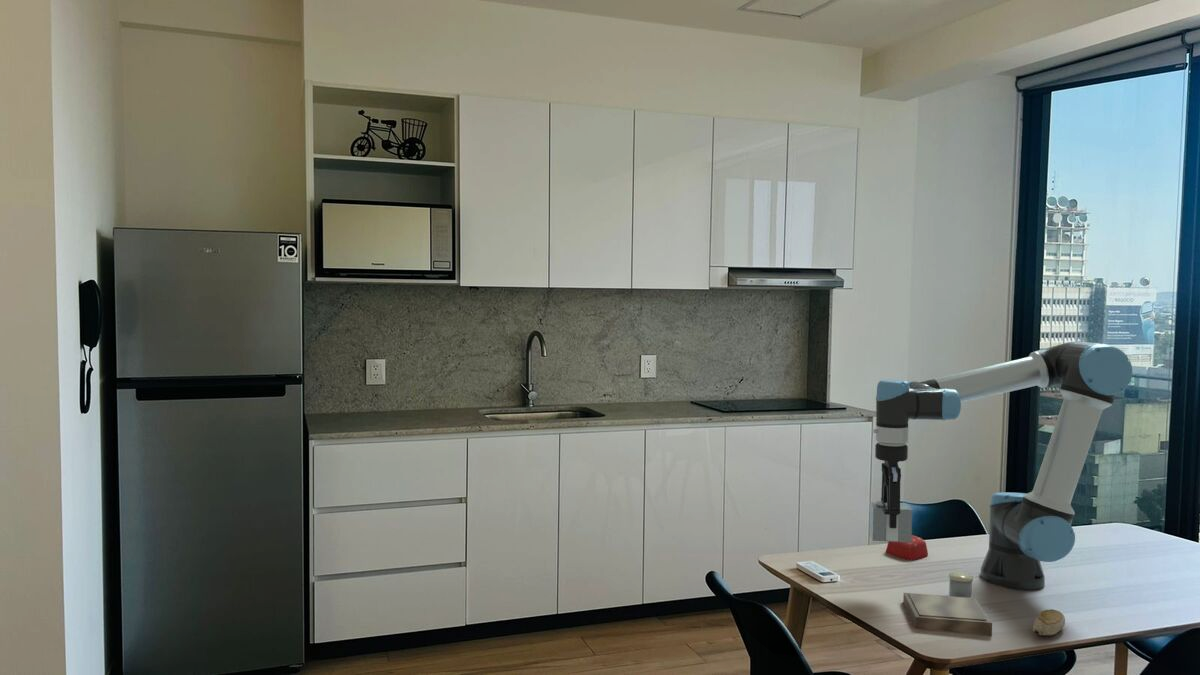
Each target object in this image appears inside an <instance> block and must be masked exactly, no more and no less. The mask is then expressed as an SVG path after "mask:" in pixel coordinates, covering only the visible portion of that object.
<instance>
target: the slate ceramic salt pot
mask: <svg viewBox="0 0 1200 675" xmlns="http://www.w3.org/2000/svg"><path fill="white" fill-rule="evenodd" d="M948 579H949V588H948V590H949V591H948V596H957V597H971V598H972V592H973V590H972V588H973V581H974V577H973V575H972V574H970V573H966V572H962V571H953V572H949V573H948Z"/></svg>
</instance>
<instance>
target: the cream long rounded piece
mask: <svg viewBox="0 0 1200 675" xmlns="http://www.w3.org/2000/svg"><path fill="white" fill-rule="evenodd" d="M1065 624H1066V616H1065V614H1064V613H1063V612H1061V611H1059V610H1056V609H1052V608H1051V609H1045V610H1042V611H1041V612H1040V613H1038V614H1037V616H1036V617H1035V619H1034V622H1033V625H1032V632H1033V633H1035V634H1036V635H1039V636H1043V637H1044V636H1053V635H1056V634H1058V632H1060V631H1062V629H1064V627H1065Z"/></svg>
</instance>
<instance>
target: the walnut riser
mask: <svg viewBox="0 0 1200 675" xmlns="http://www.w3.org/2000/svg"><path fill="white" fill-rule="evenodd" d="M902 600H903V605H904V607H905V609H906V611H907V613H908V615H909V619H910V620H911V622H912V624H913V627H914V629H918V630H925V631H926V630H928V631H937V632H947V633H957V634H968V635H978V636H988V637H992V635H993V622H992V621H991V619H990V617H989V616H988V614H987V613H986V612H985V611H984V609H983V608H982V606H981V605H980V603H979V602H978V600H976V597H972V596H971V597H957V596H949V595H942V594H927V593H915V592H914V593H911V592H903V599H902Z"/></svg>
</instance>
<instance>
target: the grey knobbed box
mask: <svg viewBox="0 0 1200 675" xmlns="http://www.w3.org/2000/svg"><path fill="white" fill-rule="evenodd" d="M884 512H887V502H885V501H881V500H878V501H876V502H869V535H870V539H871V540H872V541H874V542H887V541H886V514H884ZM912 527H913V509H912V508H911V507H910V504H908V503H900V514H899V515H898V541H888V542H909V543H911V538H912V535H913V534H912V533H913V531H912Z"/></svg>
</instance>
